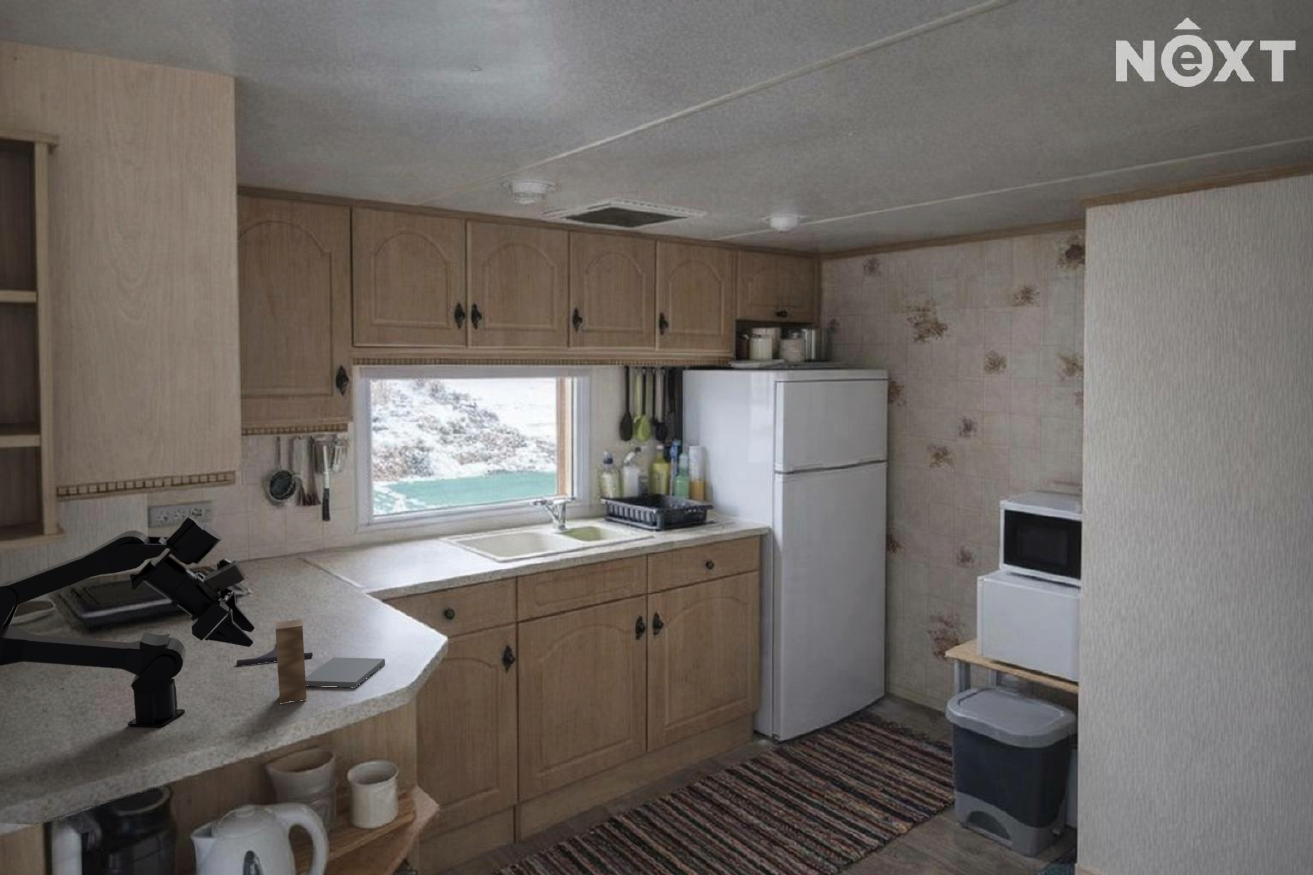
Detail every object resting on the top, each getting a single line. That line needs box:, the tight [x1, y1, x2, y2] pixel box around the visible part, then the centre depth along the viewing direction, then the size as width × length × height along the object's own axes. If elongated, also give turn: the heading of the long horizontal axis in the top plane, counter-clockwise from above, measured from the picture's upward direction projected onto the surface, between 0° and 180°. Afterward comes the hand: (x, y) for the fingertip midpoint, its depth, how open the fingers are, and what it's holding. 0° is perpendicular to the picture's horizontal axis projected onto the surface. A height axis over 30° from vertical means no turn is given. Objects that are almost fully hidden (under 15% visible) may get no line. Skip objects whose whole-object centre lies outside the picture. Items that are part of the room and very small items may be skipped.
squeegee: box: [236, 646, 314, 667], centre depth 187 cm, size 14×15×3 cm
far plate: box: [305, 656, 386, 689], centre depth 172 cm, size 13×11×1 cm
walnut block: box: [275, 618, 308, 704], centre depth 160 cm, size 4×4×14 cm
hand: (252, 637), depth 157 cm, fingers open, 9 cm apart
